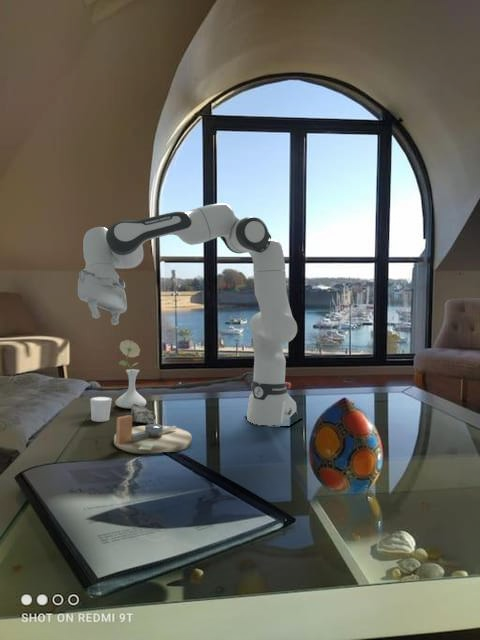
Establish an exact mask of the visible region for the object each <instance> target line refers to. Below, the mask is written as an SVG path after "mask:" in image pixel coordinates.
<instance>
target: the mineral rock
mask: <svg viewBox="0 0 480 640" xmlns="http://www.w3.org/2000/svg"><path fill="white" fill-rule="evenodd" d="M130 409H131V412H130V413H131V416H132V423H141V424H155V421H156V414H155V413H154V412H153V411H152V410H150V409H148V408H147V407H145V406H140V405H137V404H133V405H132V406H131V408H130Z"/></svg>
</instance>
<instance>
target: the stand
mask: <svg viewBox="0 0 480 640" xmlns="http://www.w3.org/2000/svg"><path fill="white" fill-rule="evenodd" d="M145 426H146V425H138V426H132V434H135V433H139V432H143V431H145ZM162 426H163V428H167V427H170V426H169V425H162ZM192 440H193V438H192V434H191V432H189V431H187V430H184V429H182V428H179V427H177V428H176V430H173V431H169V432H165V433H162V436H160V437H147V438H143V439H140V440H136V441H132V442H127V443H123V444H116V433H115V434H114V436H113V444H114V446H115V447H116V448H117V449H120V450H122V451H124V452H128V453H132V454H139V455H149V454H148V453H155V452H173V453H177V452H181V451H184V450H185V449H188V448H189V447H190V446H191V445H192Z"/></svg>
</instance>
